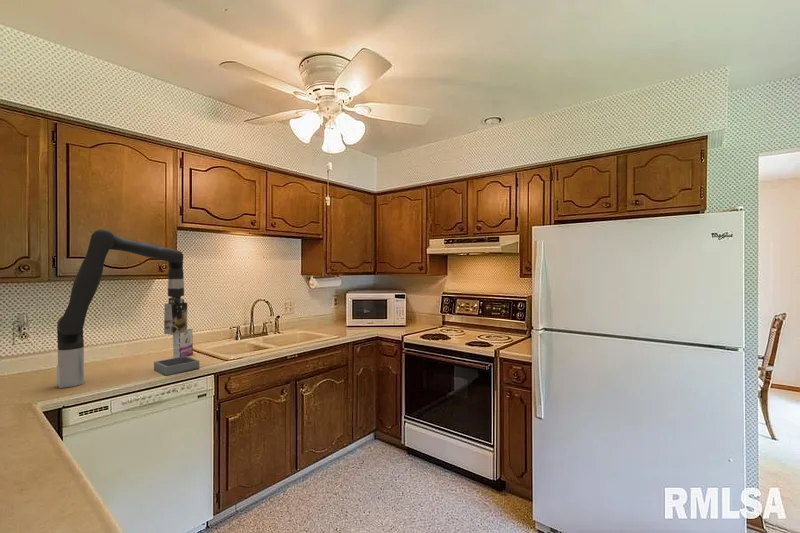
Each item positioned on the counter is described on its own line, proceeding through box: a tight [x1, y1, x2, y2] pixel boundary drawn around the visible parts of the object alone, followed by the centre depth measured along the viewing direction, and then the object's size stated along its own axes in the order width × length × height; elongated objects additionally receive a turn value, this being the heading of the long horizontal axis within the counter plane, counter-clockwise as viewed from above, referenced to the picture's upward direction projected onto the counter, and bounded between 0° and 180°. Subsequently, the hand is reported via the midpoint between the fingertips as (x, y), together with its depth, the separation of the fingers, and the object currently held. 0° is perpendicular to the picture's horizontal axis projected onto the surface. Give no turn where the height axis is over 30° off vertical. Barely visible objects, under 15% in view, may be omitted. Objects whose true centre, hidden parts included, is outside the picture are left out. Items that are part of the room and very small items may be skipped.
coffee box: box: [163, 302, 188, 336], centre depth 200 cm, size 9×6×16 cm
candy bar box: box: [172, 327, 194, 358], centre depth 229 cm, size 11×5×16 cm, turn 171°
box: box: [153, 356, 200, 377], centre depth 201 cm, size 16×17×4 cm
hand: (176, 317), depth 200 cm, fingers closed on coffee box, 8 cm apart
